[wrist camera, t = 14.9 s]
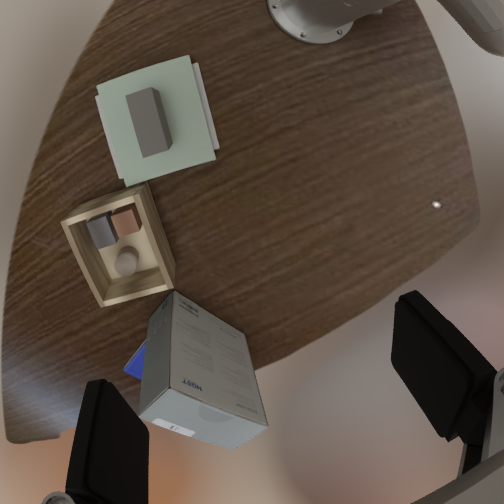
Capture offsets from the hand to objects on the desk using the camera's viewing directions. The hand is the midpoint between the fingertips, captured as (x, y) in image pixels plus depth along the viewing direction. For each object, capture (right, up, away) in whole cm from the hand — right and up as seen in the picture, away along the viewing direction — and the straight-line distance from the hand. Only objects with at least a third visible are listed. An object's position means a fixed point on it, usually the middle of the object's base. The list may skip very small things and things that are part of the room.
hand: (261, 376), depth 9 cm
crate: (-18, +6, +34) cm, 39 cm away
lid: (-12, +21, +28) cm, 37 cm away
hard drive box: (-9, -9, +43) cm, 45 cm away
